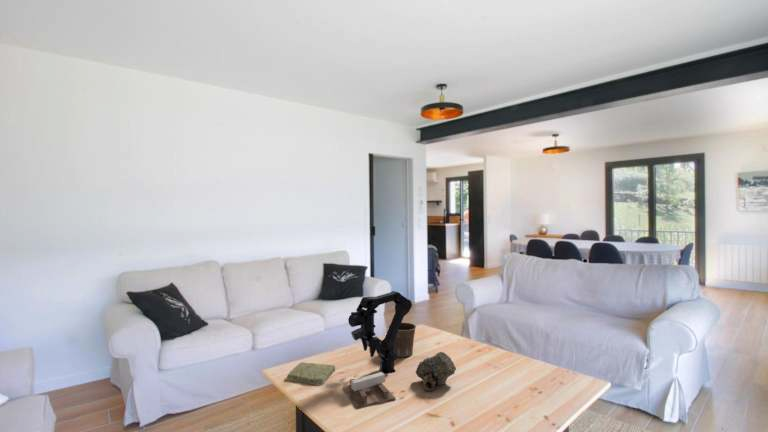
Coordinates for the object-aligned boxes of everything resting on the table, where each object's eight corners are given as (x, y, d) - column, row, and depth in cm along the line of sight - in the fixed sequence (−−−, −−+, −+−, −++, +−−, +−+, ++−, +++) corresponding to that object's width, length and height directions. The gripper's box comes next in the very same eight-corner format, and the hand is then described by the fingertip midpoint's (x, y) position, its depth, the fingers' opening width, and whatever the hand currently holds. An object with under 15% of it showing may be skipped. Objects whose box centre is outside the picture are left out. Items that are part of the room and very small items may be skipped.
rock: (441, 343, 193) (436, 349, 179) (460, 368, 188) (457, 375, 174) (413, 366, 195) (406, 373, 181) (432, 391, 190) (426, 400, 176)
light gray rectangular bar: (381, 379, 182) (381, 372, 182) (385, 382, 180) (384, 374, 180) (351, 388, 174) (351, 380, 174) (354, 391, 171) (354, 383, 171)
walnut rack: (378, 381, 189) (378, 373, 189) (395, 399, 171) (395, 391, 171) (343, 388, 183) (343, 379, 182) (356, 408, 164) (356, 399, 164)
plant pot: (390, 348, 235) (389, 321, 234) (416, 349, 232) (416, 322, 232) (386, 358, 218) (386, 330, 218) (415, 359, 216) (415, 331, 216)
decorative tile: (300, 367, 208) (300, 360, 208) (335, 370, 204) (335, 363, 204) (284, 382, 190) (284, 375, 190) (323, 386, 186) (322, 379, 185)
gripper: (347, 319, 199) (347, 349, 199) (359, 330, 182) (359, 363, 182) (367, 317, 203) (367, 346, 203) (381, 327, 186) (381, 359, 186)
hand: (368, 353), depth 194 cm, fingers open, 9 cm apart
